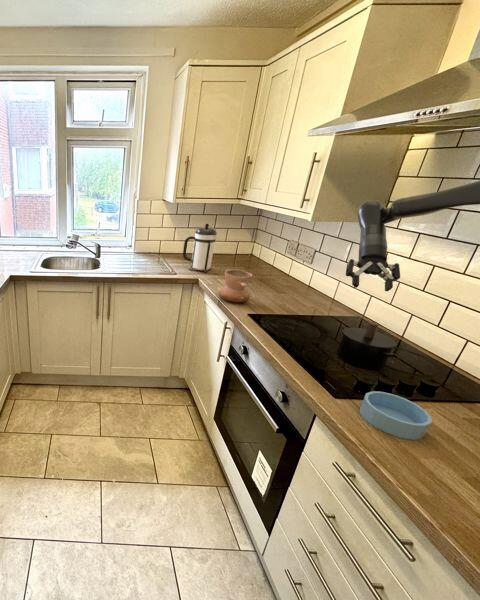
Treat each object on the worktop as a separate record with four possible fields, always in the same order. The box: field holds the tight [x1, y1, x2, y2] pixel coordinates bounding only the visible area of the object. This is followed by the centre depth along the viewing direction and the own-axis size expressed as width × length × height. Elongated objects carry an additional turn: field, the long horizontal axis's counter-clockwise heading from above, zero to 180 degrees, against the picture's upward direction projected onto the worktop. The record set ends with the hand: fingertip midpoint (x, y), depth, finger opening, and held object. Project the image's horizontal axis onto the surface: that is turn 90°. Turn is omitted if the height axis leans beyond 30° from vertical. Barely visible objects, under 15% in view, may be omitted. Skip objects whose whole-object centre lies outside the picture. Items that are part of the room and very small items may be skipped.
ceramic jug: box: [218, 268, 253, 304], centre depth 157 cm, size 18×14×14 cm
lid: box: [342, 321, 397, 349], centre depth 104 cm, size 14×14×6 cm
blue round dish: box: [359, 390, 433, 441], centre depth 81 cm, size 12×12×4 cm
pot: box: [336, 327, 395, 371], centre depth 107 cm, size 12×18×8 cm
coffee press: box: [182, 223, 219, 274], centre depth 201 cm, size 17×16×30 cm
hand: (371, 288), depth 109 cm, fingers open, 8 cm apart
